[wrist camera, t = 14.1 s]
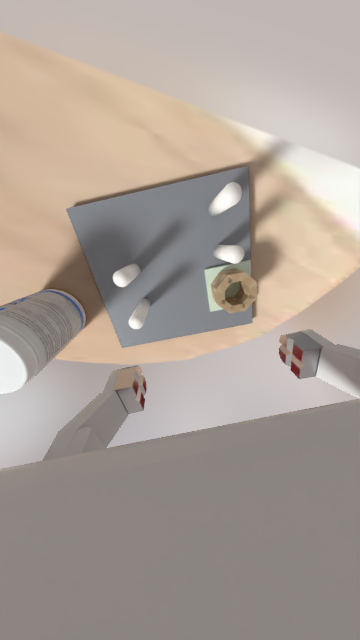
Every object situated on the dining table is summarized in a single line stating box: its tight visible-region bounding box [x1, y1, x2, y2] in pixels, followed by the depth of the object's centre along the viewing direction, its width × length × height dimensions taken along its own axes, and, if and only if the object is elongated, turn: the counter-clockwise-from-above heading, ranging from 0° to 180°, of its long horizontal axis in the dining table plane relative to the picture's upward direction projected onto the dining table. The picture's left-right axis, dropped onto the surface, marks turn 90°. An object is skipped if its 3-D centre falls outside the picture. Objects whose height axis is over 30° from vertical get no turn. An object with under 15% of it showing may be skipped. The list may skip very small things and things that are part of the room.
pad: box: [204, 260, 251, 312], centre depth 30 cm, size 8×8×1 cm
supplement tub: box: [0, 289, 86, 394], centre depth 25 cm, size 10×10×15 cm
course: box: [66, 166, 252, 348], centre depth 26 cm, size 24×26×9 cm
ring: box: [211, 268, 257, 314], centre depth 27 cm, size 6×6×4 cm
